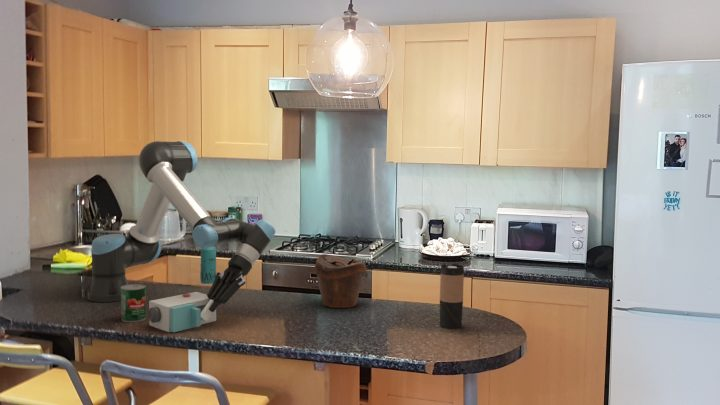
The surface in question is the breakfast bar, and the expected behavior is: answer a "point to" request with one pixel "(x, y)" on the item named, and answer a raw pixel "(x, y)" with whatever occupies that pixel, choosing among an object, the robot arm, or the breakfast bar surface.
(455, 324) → the travel mug
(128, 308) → the canned tomato
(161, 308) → the block
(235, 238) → the robot arm
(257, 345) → the breakfast bar surface
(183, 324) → the door
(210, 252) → the beverage bottle
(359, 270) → the brown tapered cylinder
